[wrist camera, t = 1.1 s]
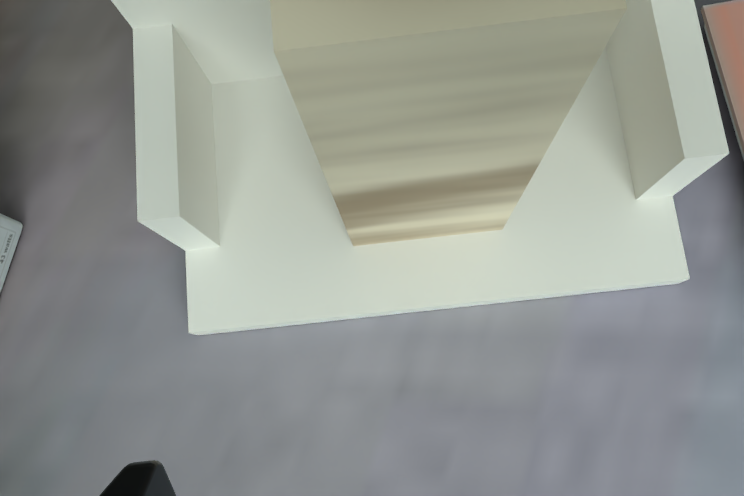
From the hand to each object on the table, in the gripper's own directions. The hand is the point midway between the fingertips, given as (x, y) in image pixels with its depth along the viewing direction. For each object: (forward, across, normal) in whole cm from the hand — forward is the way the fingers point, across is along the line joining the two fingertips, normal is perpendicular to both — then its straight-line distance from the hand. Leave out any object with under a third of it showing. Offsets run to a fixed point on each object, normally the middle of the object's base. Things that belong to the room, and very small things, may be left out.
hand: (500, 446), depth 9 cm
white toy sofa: (+15, 0, +4) cm, 16 cm away
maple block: (+15, 0, +3) cm, 15 cm away
